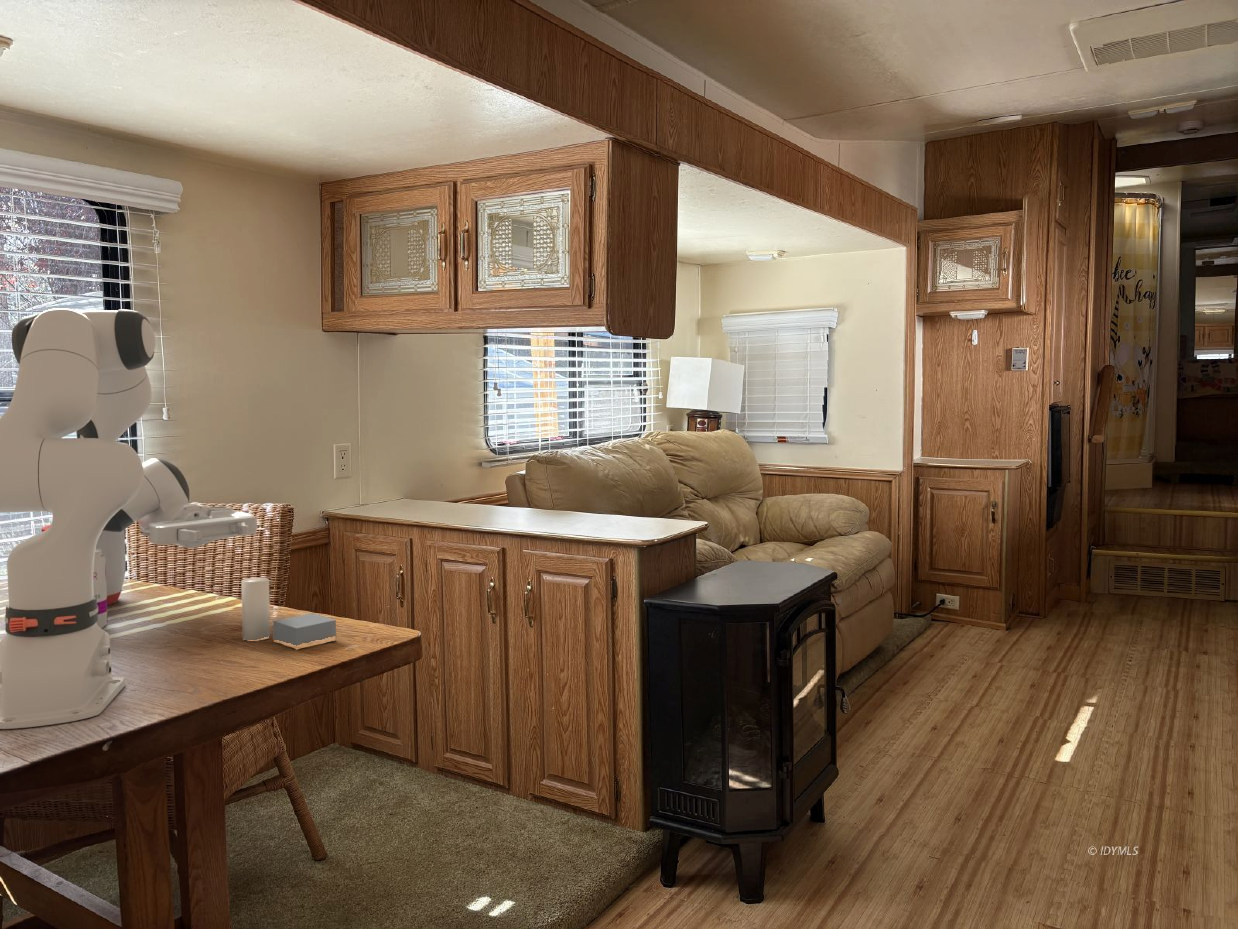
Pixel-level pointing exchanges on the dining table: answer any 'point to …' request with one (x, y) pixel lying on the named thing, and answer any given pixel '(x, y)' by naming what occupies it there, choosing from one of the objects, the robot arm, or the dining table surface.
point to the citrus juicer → (112, 561)
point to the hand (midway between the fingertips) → (222, 533)
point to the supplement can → (100, 587)
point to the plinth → (303, 628)
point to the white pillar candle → (255, 608)
